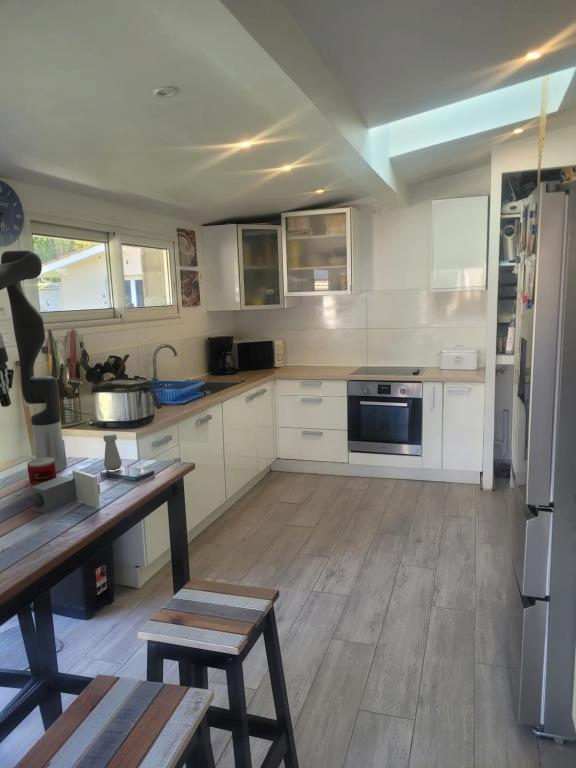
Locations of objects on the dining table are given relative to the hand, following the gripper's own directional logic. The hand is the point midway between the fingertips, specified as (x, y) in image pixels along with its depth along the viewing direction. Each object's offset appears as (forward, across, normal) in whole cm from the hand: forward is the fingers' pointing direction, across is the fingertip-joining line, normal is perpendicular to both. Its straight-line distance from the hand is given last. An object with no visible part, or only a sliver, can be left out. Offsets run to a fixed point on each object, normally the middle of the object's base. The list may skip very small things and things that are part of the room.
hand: (6, 405), depth 161 cm
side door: (+31, -5, -20) cm, 37 cm away
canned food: (+31, +3, -2) cm, 31 cm away
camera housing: (+30, -6, -10) cm, 32 cm away
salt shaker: (+34, +25, -15) cm, 45 cm away
